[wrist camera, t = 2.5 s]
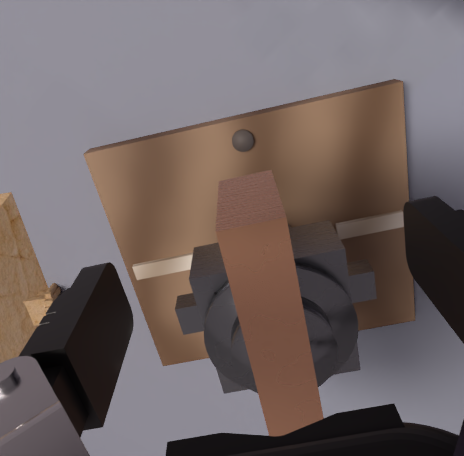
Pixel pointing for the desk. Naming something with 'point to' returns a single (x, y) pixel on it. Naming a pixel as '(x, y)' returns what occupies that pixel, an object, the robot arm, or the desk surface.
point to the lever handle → (274, 302)
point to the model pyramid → (19, 283)
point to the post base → (289, 187)
